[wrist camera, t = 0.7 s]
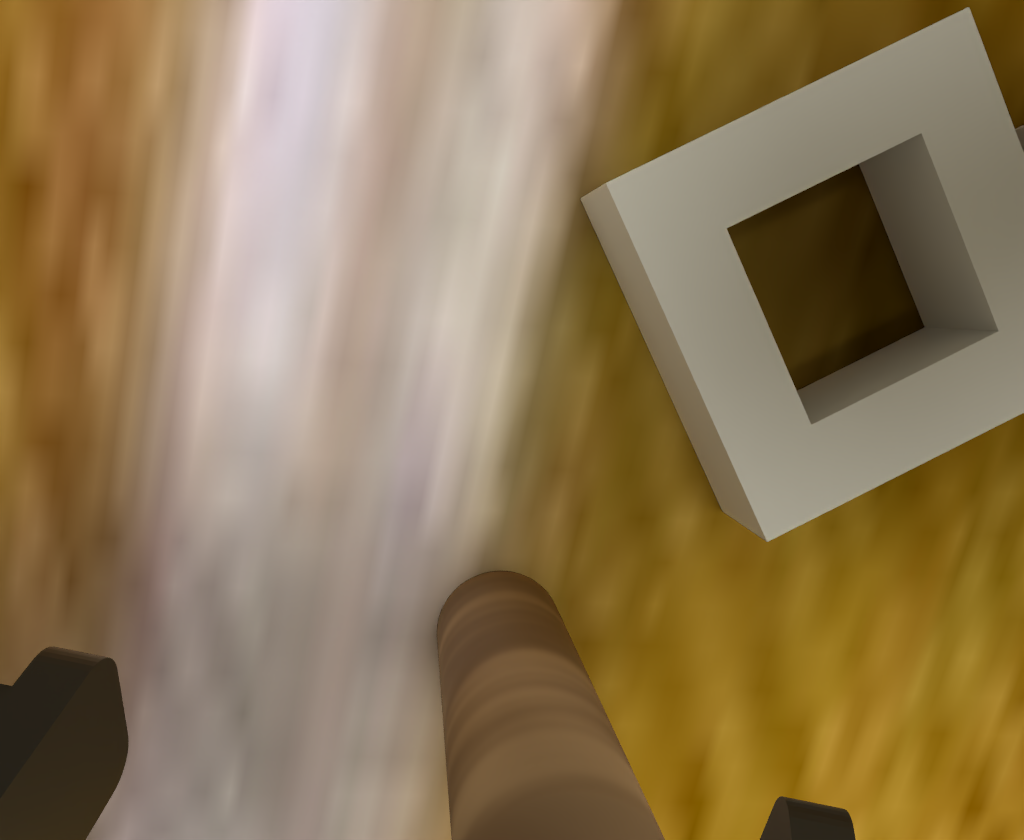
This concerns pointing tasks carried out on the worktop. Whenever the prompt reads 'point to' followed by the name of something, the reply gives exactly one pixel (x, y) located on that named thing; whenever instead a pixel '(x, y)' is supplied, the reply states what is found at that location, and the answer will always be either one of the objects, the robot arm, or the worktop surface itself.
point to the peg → (527, 724)
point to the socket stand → (917, 245)
